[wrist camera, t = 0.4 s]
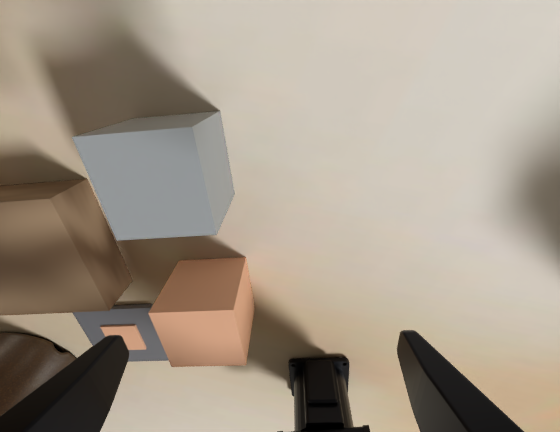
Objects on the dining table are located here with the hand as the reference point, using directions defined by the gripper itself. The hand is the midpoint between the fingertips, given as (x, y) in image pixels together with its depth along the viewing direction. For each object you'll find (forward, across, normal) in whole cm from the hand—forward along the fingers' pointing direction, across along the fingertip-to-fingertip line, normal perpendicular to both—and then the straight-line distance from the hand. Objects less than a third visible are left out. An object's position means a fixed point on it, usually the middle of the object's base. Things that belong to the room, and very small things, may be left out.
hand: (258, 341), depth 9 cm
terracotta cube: (+14, +6, +9) cm, 17 cm away
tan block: (+14, +19, +3) cm, 24 cm away
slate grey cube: (+13, +6, -3) cm, 15 cm away
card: (+14, +17, +15) cm, 27 cm away
